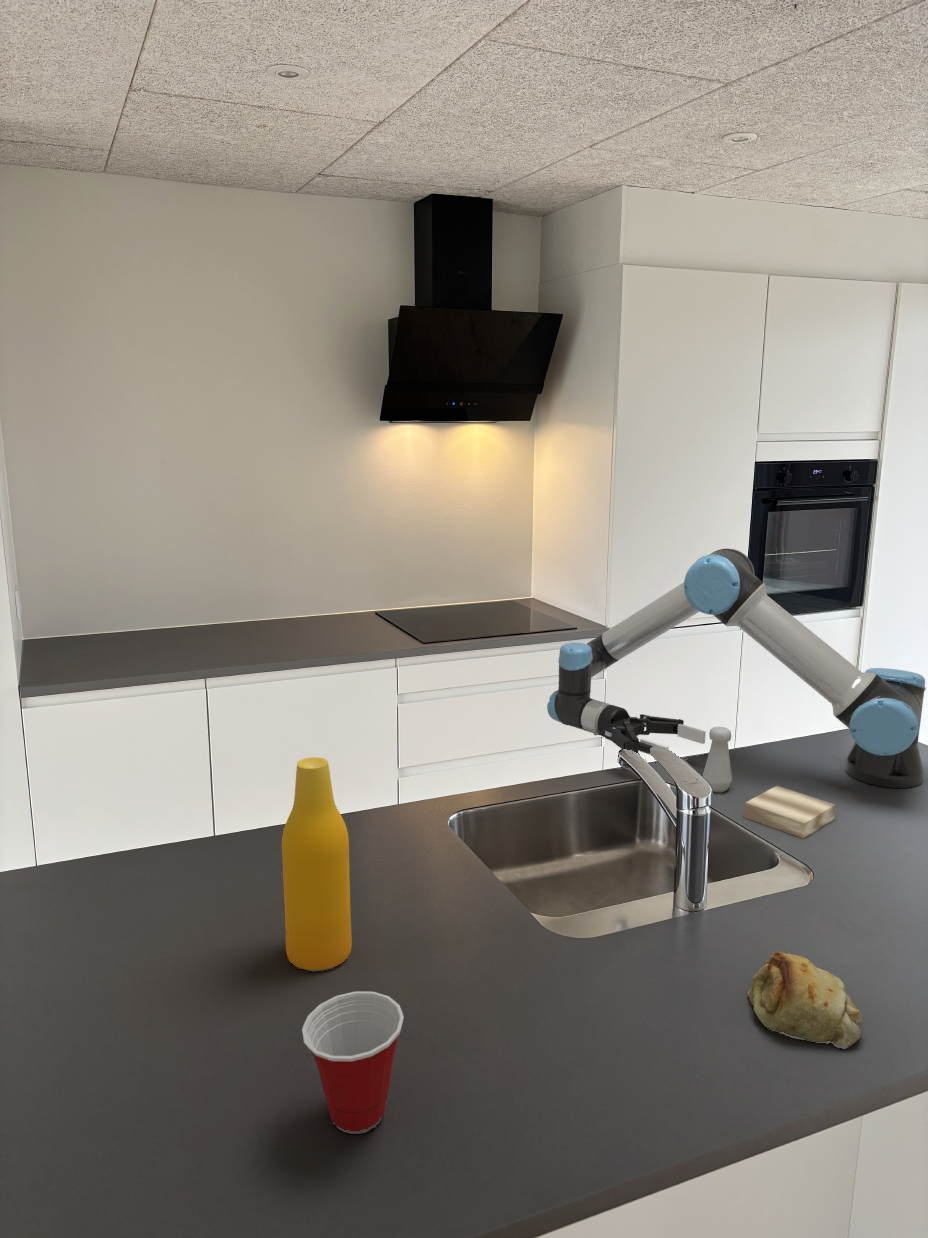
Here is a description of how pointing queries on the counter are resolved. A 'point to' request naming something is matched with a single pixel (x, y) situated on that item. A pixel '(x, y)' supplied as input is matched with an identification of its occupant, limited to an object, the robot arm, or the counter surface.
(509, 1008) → the counter surface
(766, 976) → the pastry
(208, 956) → the counter surface
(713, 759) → the salt shaker
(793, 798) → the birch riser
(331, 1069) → the plastic cup
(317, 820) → the beer bottle
